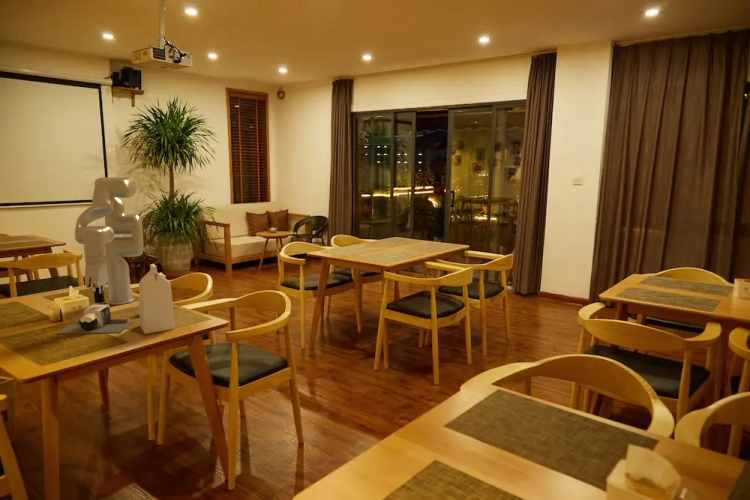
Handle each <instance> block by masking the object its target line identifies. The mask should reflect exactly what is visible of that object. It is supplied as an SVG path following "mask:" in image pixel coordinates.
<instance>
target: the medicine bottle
mask: <svg viewBox="0 0 750 500" xmlns="http://www.w3.org/2000/svg"><path fill="white" fill-rule="evenodd" d="M110 306H111V305H110V304H92V305H90V306H88V307H87V308H85V309H84V310H83V311H82V312H83V313H82V314H83V316H82V317H81V318H79V319H80V321H79V323H80V326H81V327H82V328H83V329H85V330H92V329H93V328H94V327H103V326H105V325H106V324H107V323H109V322H110V319H113V318H112V313H111V307H110Z"/></svg>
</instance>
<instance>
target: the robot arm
mask: <svg viewBox="0 0 750 500" xmlns="http://www.w3.org/2000/svg"><path fill="white" fill-rule="evenodd" d="M136 190H137V183H136V180H135V179H134V178H133V177H120V176H119V177H118V176H117V177H116V176H115V177H114V176H110V177H109V176H107V177H106V176H105V177H99V178H97V179H95V181H94V189H93V194H92V200H91V205H90V206H89V207H88V208H86V209H85V210H84V211H82V213H80V214H79V216H78V217H77V219H76V223H75V229H74V238H75V241H76V243H77V244H80V245H83V250H84V264H85V267H84V268H85V269H84V282H85V283H84V284H85V288H87V289H90V292H92V293H93V299H94V300H93V301H94V303H95V304H103V303H104V302H105V303H106V305H110V306H112V305H114V306H116V305H125V304H126V305H127V304H129V303H130V304H131V303H132V302H134V301H135V300H136V298H135V296H132V293H133V292H134V291H133V289H131V280H130V266H129V264H128V262H127V260H125V259H124V258H126V257H127V258H128V257H140V256H142V255H143V254H144V236H143V235H144V233H143V232H144V227H143V222H142V218H141V216H140V215H139V214H130V213H127V214H126V212H125V203H124V202H123V200H122V199H123V198H125V199H126V198H127V199H128V198H130V197H133V196H134V195H135V194H136ZM121 198H122V199H121ZM102 218H104V225H89V224H90V223H92V222H94V221H96V220H99V219H102ZM115 235H131V236H119V237H118V236H115ZM106 285H107V287H108V289H107V290H108V298H107V299H105V293H104V292H105V287H106Z"/></svg>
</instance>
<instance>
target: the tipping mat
mask: <svg viewBox="0 0 750 500" xmlns="http://www.w3.org/2000/svg"><path fill="white" fill-rule="evenodd" d="M80 319H81V318H78V319H77V322H73V323H71V324H70V325H68V326H66V327H65V328H63V329H61V330H59V331H58V332H57V333H56V335H82V334H83V335H85V334H87V335H88V334H90V335H91V334H92V335H93V334H121V333H123V331H125V330H126V329H128V328H129V327H130V326H131V325H133V324H134V321H129V318H127V317H126V318H112V319H110V322H109V323H107V324H106V325H105V326H103V327H94V328H93V329H92V330H85V329H83V328H82V327H81V326H80V323H79V321H80Z"/></svg>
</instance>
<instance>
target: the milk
mask: <svg viewBox="0 0 750 500" xmlns="http://www.w3.org/2000/svg"><path fill="white" fill-rule="evenodd" d="M166 277H167V275H165V274H164V273H163V272H161V271H160V272H158V268H157V265H155V264H154V263H152V264H149V271H148V272H147V273H146V274H145V275H144V276H143V277H142V278H141V279H140V281H139V282H138V298H139V299H138V301H139V304H138V305H139V326H140V328H141V330H142V331H143V334H151V333H157V332H163V331H169V330H174V329H176V321H175V311H174V302H173V292H172V286H171V282H169V281H168V279H167V278H166Z"/></svg>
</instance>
